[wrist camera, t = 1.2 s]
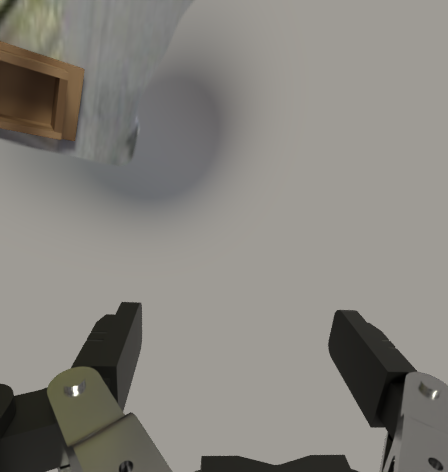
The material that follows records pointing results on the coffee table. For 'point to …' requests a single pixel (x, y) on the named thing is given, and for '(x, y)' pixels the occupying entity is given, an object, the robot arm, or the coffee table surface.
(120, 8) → the coffee table surface
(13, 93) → the brown open box stand
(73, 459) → the robot arm
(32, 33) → the coffee table surface
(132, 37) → the coffee table surface
